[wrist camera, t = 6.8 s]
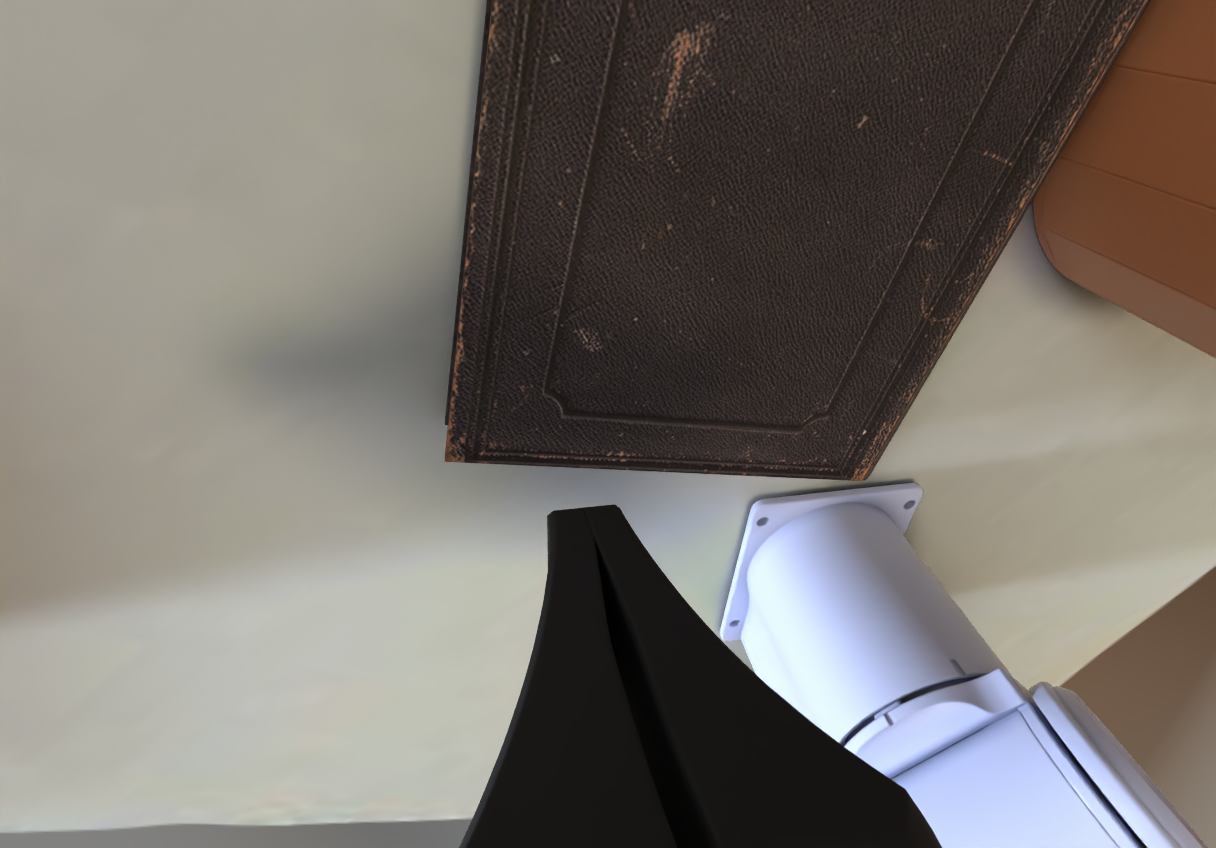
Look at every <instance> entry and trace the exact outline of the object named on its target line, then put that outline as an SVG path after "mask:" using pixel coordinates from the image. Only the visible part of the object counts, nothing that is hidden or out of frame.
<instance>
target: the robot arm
mask: <svg viewBox="0 0 1216 848" xmlns="http://www.w3.org/2000/svg"><path fill="white" fill-rule="evenodd" d="M923 492H924V491H923V489H922V488H921V487H920V485H919V484H917V483H905V484H896V485H887V486H878V487H868V488H859V489H850V490H841V491H832V492H822V493H813V494H804V495H795V496H785V497H776V498H767V499H761V500H758V501H757V502H755V503H754V504H753V505H752V507H751V510H750V514H749V518H748V522H747V526H746V530H745V534H744V538H743V542H742V545H741V549H740V553H739V557H738V561H737V565H736V569H735V573H734V577H733V581H732V585H731V589H730V593H729V597H728V601H727V605H726V609H725V613H724V617H723V620H722V624H721V628H720V635H721V638H722V639H723V640H724V641H735V640H741V641H742V643H743V645H744V648H745V650H746V652H747V655H748V657H749V660H750V662H751V664H752V667H753V669H754V671H755V673H754V672H753V671H752V670H751V669H750V668H749V667H747V666H746V665H745V664H744V663H743V662H742V661H741V660H740V659H739V658H738V657H737V656H736V655H735V654H734V653H733V652H732V651H731V650H730V649H729V648H728V647H727V646H726V645H725V644H724V643H723V642H722V641H721V640H720V639H719V638H718V637H717V636H716V635H715V633H714V632H713V631H712V630H711V629H710V628H709V627H708V626H707V625H706V624H705V623H704V621H703V620H702V619H701V618H700V617H699V616H698V615H697V613H696V612H695V611H694V610H693V609H692V608H691V607H690V605H689V604H688V603H687V602H686V601H685V599H684V598H683V597H682V596H681V595H680V593H679V592H678V591H677V590H676V588H675V587H674V586H673V585H672V583H671V582H670V581H669V579H668V578H667V577H666V576H665V574H664V573H663V572H662V570H661V569H660V568H659V567H658V565H657V564H656V562H655V561H654V560H653V558H652V557H651V556H650V554H649V553H648V551H647V550H646V548H645V547H644V546H643V544H642V543H641V541H640V540H639V538H638V537H637V535H636V534H635V532H634V531H633V529H632V528H631V526H630V524H629V523H628V521H627V520H626V518H625V516H624V515H623V513H622V511H621V509H620V508H619V507H617V506H616V505H605V506H596V507H586V508H577V509H567V510H557V511H553V512H551V513H550V514H549V515H548V516H547V528H548V574H547V581H546V588H545V595H544V601H543V607H542V611H541V616H540V620H539V625H538V630H537V634H536V639H535V643H534V647H533V651H532V655H531V659H530V662H529V666H528V670H527V673H526V676H525V680H524V683H523V686H522V690H521V693H520V696H519V699H518V702H517V705H516V708H515V711H514V714H513V717H512V720H511V723H510V726H509V729H508V732H507V735H506V737H505V740H504V743H503V746H502V748H501V751H500V754H499V756H498V759H497V761H496V763H495V766H494V768H493V771H492V773H491V776H490V778H489V781H488V783H487V786H486V788H485V791H484V793H483V796H482V798H481V801H480V803H479V805H478V808H477V810H476V812H475V815H474V817H473V819H472V821H471V823H470V826H469V828H468V830H467V832H466V834H465V837H464V839H463V841H462V843H461V845H460V847H459V848H1208V847H1207V846H1206V845H1205V844H1204V842H1203V841H1202V840H1201V839H1200V838H1199V837H1198V835H1197V834H1196V833H1195V832H1194V830H1193V829H1192V828H1191V827H1190V826H1189V824H1188V823H1187V822H1186V821H1185V820H1184V818H1183V817H1182V816H1181V815H1180V813H1179V812H1178V811H1177V810H1176V809H1175V807H1174V806H1173V805H1172V804H1171V803H1170V801H1169V800H1168V799H1167V798H1166V797H1165V796H1164V794H1163V793H1162V792H1161V791H1160V790H1159V788H1158V787H1157V786H1156V785H1155V784H1154V783H1153V781H1152V780H1151V779H1150V778H1149V777H1148V775H1147V774H1146V773H1145V772H1144V771H1143V769H1142V768H1141V767H1140V766H1139V765H1138V764H1137V762H1136V761H1135V760H1134V759H1133V758H1132V757H1131V755H1130V754H1129V753H1128V752H1127V751H1126V750H1125V749H1124V747H1123V746H1122V745H1121V744H1120V743H1119V742H1118V740H1117V739H1116V738H1115V737H1114V736H1113V735H1112V734H1111V732H1110V731H1109V730H1108V729H1107V728H1106V727H1105V726H1104V724H1103V723H1102V722H1101V721H1100V720H1099V719H1098V717H1097V716H1096V715H1095V714H1094V713H1093V712H1092V711H1091V710H1090V708H1089V707H1088V706H1087V705H1086V704H1085V703H1084V702H1083V701H1082V700H1081V699H1080V698H1079V696H1077V694H1076V693H1074V692H1073V691H1072V690H1069V689H1065V688H1061V687H1057V686H1055V687H1053V686H1052V685H1050V684H1049V683H1048V682H1039V683H1038V684H1036V685H1034V686H1033V687H1031V688H1029V691H1028V690H1027V689H1026V688H1025V687H1024V686H1022V685H1021V684H1020V683H1019V682H1018V681H1017V680H1016V679H1014V678H1013V677H1012V675H1011V674H1010V673H1009V671H1008V670H1007V669H1006V667H1005V666H1004V665H1003V664H1002V662H1001V661H1000V660H999V658H998V657H997V656H996V655H995V653H994V652H993V651H992V649H991V648H990V647H989V645H988V644H987V643H986V642H985V640H984V639H983V638H982V636H981V635H980V634H979V633H978V631H977V630H976V629H975V627H974V626H973V625H972V623H971V622H970V621H969V620H968V618H967V617H966V616H965V614H964V613H963V612H962V611H961V609H960V608H959V607H958V605H957V604H956V603H955V601H954V600H953V599H952V598H951V596H950V595H949V594H948V592H947V591H946V590H945V589H944V587H943V586H942V585H941V583H940V582H939V581H938V579H937V578H936V577H935V576H934V574H933V573H932V572H931V570H930V569H929V568H928V567H927V565H926V564H925V563H924V561H923V560H922V559H921V557H920V556H919V555H918V554H917V552H916V551H915V550H914V548H913V547H912V546H911V545H910V543H909V542H908V541H907V539H906V538H905V537H904V534H905V532H906V530H907V528H908V525H909V523H910V521H911V519H912V517H913V515H914V513H915V510H916V508H917V506H918V504H919V502H920V500H921V498H922V495H923ZM760 518H761V519H760Z"/></svg>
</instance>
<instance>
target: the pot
mask: <svg viewBox="0 0 1216 848" xmlns="http://www.w3.org/2000/svg"><path fill="white" fill-rule="evenodd" d="M1033 212H1034V220H1035V228H1036V232H1037V235H1038V238H1039V242H1040V245H1041V247H1042V249H1043V251H1044V252H1045V254H1046V256H1047V258H1048V260H1049V261H1050V262H1051V263H1052V265H1053V266H1054V267H1055V268H1056V269H1057V270H1058V271H1059V272H1060V273H1061V274H1062V275H1063V276H1064V277H1066V278H1068V279H1069V280H1071V281H1073V282H1075V283H1077V284H1078V285H1080V286H1082V287H1084V288H1086V289H1088V290H1089V291H1091V292H1093V293H1095V294H1097V295H1099V296H1100V297H1102V298H1104V299H1106V300H1108V301H1110V302H1112V303H1113V304H1115V305H1117V306H1119V307H1121V308H1123V309H1125V310H1126V311H1128V312H1130V313H1132V314H1134V315H1136V316H1138V317H1139V318H1141V319H1143V320H1145V321H1147V322H1149V323H1151V324H1152V325H1154V326H1156V327H1158V328H1160V329H1162V330H1164V331H1165V332H1167V333H1169V334H1171V335H1173V336H1175V337H1177V338H1178V339H1180V340H1182V341H1184V342H1186V343H1188V344H1190V345H1192V346H1193V347H1195V348H1197V349H1199V350H1201V351H1203V352H1205V353H1206V354H1208V355H1210V356H1212V357H1214V358H1216V0H1151V1H1150V2H1149V4H1148V6H1147V7H1146V9H1145V11H1144V13H1143V14H1142V16H1141V18H1140V19H1139V21H1138V23H1137V24H1136V26H1135V28H1134V29H1133V31H1132V33H1131V35H1130V36H1129V38H1128V40H1127V41H1126V43H1125V45H1124V46H1123V48H1122V50H1121V51H1120V53H1119V55H1118V57H1117V58H1116V60H1115V62H1114V63H1113V65H1112V67H1111V68H1110V70H1109V72H1108V73H1107V75H1106V77H1105V79H1104V80H1103V82H1102V84H1101V85H1100V87H1099V89H1098V90H1097V92H1096V94H1095V95H1094V97H1093V99H1092V101H1091V102H1090V104H1089V106H1088V107H1087V109H1086V111H1085V112H1084V114H1083V116H1082V117H1081V119H1080V121H1079V123H1078V124H1077V126H1076V128H1075V129H1074V131H1073V133H1072V134H1071V136H1070V138H1069V139H1068V141H1067V143H1066V145H1065V146H1064V148H1063V150H1062V151H1061V153H1060V155H1059V156H1058V158H1057V160H1056V161H1055V163H1054V165H1053V166H1052V168H1051V170H1050V172H1049V173H1048V175H1047V177H1046V178H1045V180H1044V182H1043V183H1042V185H1041V187H1040V188H1039V190H1038V192H1037V194H1036V195H1035V197H1034V199H1033Z"/></svg>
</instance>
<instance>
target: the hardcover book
mask: <svg viewBox="0 0 1216 848" xmlns="http://www.w3.org/2000/svg"><path fill="white" fill-rule="evenodd" d="M1150 1H1151V0H487V6H486V16H485V26H484V36H483V46H482V56H481V66H480V76H479V86H478V96H477V106H476V116H475V126H474V136H473V146H472V156H471V166H470V176H469V186H468V196H467V206H466V216H465V226H464V236H463V246H462V256H461V266H460V276H459V286H458V296H457V306H456V316H455V326H454V336H453V346H452V356H451V366H450V376H449V386H448V396H447V406H446V416H445V425H448V431H447V440H446V450H445V462H464V463H486V464H507V465H529V466H550V467H572V468H593V469H615V470H636V471H658V472H679V473H701V474H722V475H744V476H766V477H787V478H809V479H830V480H852V481H863V480H866V479H868V477H869V476H870V474H871V473H872V471H873V469H874V468H875V466H876V464H877V463H878V461H879V459H880V457H881V456H882V454H883V452H884V451H885V449H886V447H887V446H888V444H889V442H890V441H891V439H892V437H893V435H894V434H895V432H896V430H897V429H898V427H899V425H900V424H901V422H902V420H903V419H904V417H905V415H906V413H907V412H908V410H909V408H910V407H911V405H912V403H913V402H914V400H915V398H916V397H917V395H918V393H919V391H920V390H921V388H922V386H923V385H924V383H925V381H926V380H927V378H928V376H929V375H930V373H931V371H932V369H933V368H934V366H935V364H936V363H937V361H938V359H939V358H940V356H941V354H942V353H943V351H944V349H945V348H946V346H947V344H948V342H949V341H950V339H951V337H952V336H953V334H954V332H955V331H956V329H957V327H958V326H959V324H960V322H961V320H962V319H963V317H964V315H965V314H966V312H967V310H968V309H969V307H970V305H971V304H972V302H973V300H974V298H975V297H976V295H977V293H978V292H979V290H980V288H981V287H982V285H983V283H984V282H985V280H986V278H987V276H988V275H989V273H990V271H991V270H992V268H993V266H994V265H995V263H996V261H997V260H998V258H999V256H1000V254H1001V253H1002V251H1003V249H1004V248H1005V246H1006V244H1007V243H1008V241H1009V239H1010V238H1011V236H1012V234H1013V232H1014V231H1015V229H1016V227H1017V226H1018V224H1019V222H1020V221H1021V219H1022V217H1023V216H1024V214H1025V212H1026V210H1027V209H1028V207H1029V205H1030V204H1031V202H1032V200H1033V199H1034V197H1035V195H1036V194H1037V192H1038V190H1039V188H1040V187H1041V185H1042V183H1043V182H1044V180H1045V178H1046V177H1047V175H1048V173H1049V172H1050V170H1051V168H1052V166H1053V165H1054V163H1055V161H1056V160H1057V158H1058V156H1059V155H1060V153H1061V151H1062V150H1063V148H1064V146H1065V145H1066V143H1067V141H1068V139H1069V138H1070V136H1071V134H1072V133H1073V131H1074V129H1075V128H1076V126H1077V124H1078V123H1079V121H1080V119H1081V117H1082V116H1083V114H1084V112H1085V111H1086V109H1087V107H1088V106H1089V104H1090V102H1091V101H1092V99H1093V97H1094V95H1095V94H1096V92H1097V90H1098V89H1099V87H1100V85H1101V84H1102V82H1103V80H1104V79H1105V77H1106V75H1107V73H1108V72H1109V70H1110V68H1111V67H1112V65H1113V63H1114V62H1115V60H1116V58H1117V57H1118V55H1119V53H1120V51H1121V50H1122V48H1123V46H1124V45H1125V43H1126V41H1127V40H1128V38H1129V36H1130V35H1131V33H1132V31H1133V29H1134V28H1135V26H1136V24H1137V23H1138V21H1139V19H1140V18H1141V16H1142V14H1143V13H1144V11H1145V9H1146V7H1147V6H1148V4H1149V2H1150Z"/></svg>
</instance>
